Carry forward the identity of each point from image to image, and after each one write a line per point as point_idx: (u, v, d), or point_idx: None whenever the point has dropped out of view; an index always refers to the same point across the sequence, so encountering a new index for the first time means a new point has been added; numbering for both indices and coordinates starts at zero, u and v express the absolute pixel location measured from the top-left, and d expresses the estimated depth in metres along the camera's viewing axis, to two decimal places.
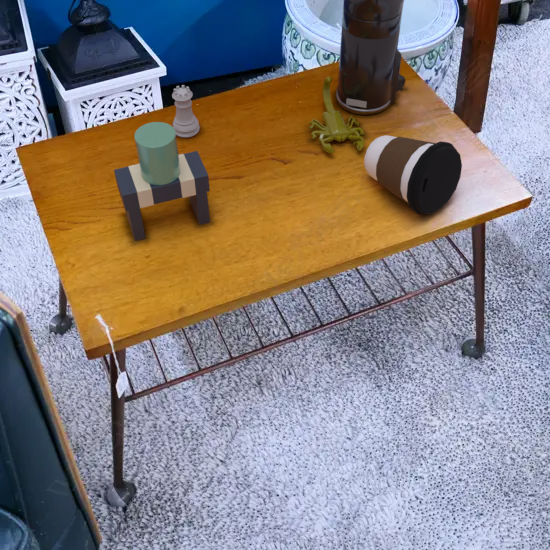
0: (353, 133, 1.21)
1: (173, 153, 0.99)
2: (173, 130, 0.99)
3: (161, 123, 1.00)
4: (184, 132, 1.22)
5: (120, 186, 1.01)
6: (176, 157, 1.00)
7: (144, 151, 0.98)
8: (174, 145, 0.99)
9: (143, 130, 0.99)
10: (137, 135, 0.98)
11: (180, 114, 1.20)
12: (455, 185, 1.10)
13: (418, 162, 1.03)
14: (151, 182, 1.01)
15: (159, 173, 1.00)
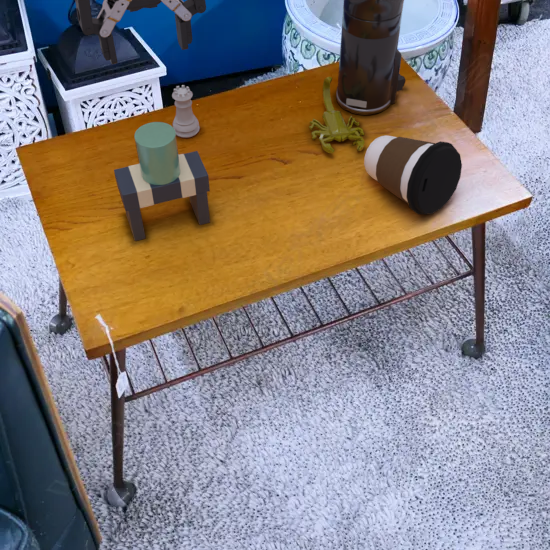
0: (353, 133, 1.21)
1: (173, 153, 0.99)
2: (173, 130, 0.99)
3: (161, 123, 1.00)
4: (184, 132, 1.22)
5: (120, 186, 1.01)
6: (176, 157, 1.00)
7: (144, 151, 0.98)
8: (174, 145, 0.99)
9: (143, 130, 0.99)
10: (137, 135, 0.98)
11: (180, 114, 1.20)
12: (455, 185, 1.10)
13: (418, 162, 1.03)
14: (151, 182, 1.01)
15: (159, 173, 1.00)
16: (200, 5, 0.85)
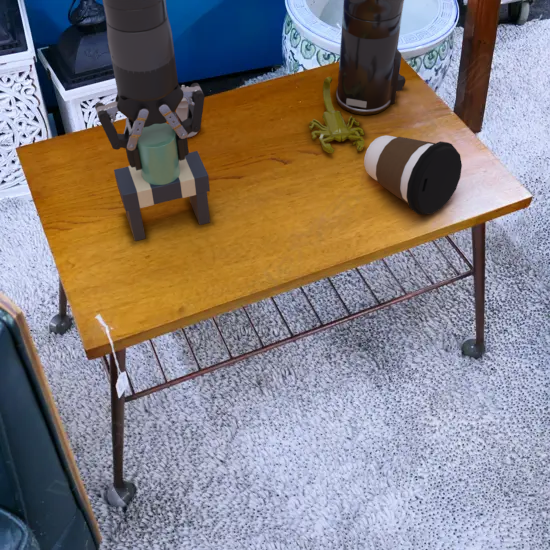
0: (353, 133, 1.21)
1: (173, 153, 0.99)
2: (173, 130, 0.99)
3: None
4: None
5: (120, 186, 1.01)
6: (176, 157, 1.00)
7: (144, 151, 0.98)
8: (174, 145, 0.99)
9: (143, 130, 0.99)
10: None
11: (180, 114, 1.20)
12: (455, 185, 1.10)
13: (418, 162, 1.03)
14: (151, 182, 1.01)
15: (159, 173, 1.00)
16: (196, 125, 0.98)
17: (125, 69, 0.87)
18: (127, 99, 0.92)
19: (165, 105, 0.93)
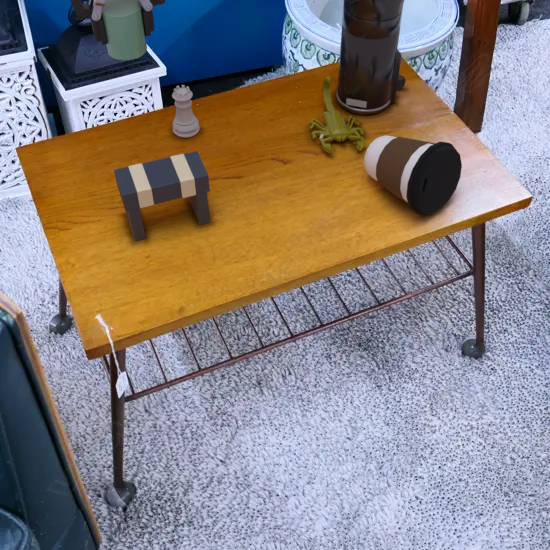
0: (353, 133, 1.21)
1: (138, 25, 1.00)
2: (138, 2, 1.00)
3: None
4: (184, 132, 1.22)
5: (120, 186, 1.01)
6: (142, 31, 1.01)
7: (109, 22, 0.98)
8: (139, 17, 0.99)
9: (109, 2, 1.00)
10: None
11: (180, 114, 1.20)
12: (455, 185, 1.10)
13: (418, 162, 1.03)
14: (117, 57, 1.02)
15: (125, 46, 1.00)
16: None
17: None
18: None
19: None
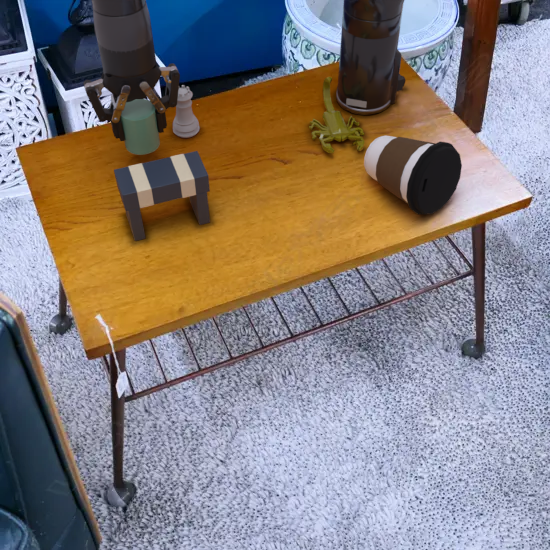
0: (353, 133, 1.21)
1: (153, 126, 1.12)
2: (153, 105, 1.12)
3: (142, 99, 1.13)
4: (184, 132, 1.22)
5: (120, 186, 1.01)
6: (156, 130, 1.13)
7: (127, 124, 1.11)
8: (154, 119, 1.12)
9: (127, 105, 1.12)
10: None
11: (180, 114, 1.20)
12: (455, 185, 1.10)
13: (418, 162, 1.03)
14: (134, 152, 1.14)
15: (141, 143, 1.13)
16: (172, 101, 1.11)
17: (109, 49, 1.00)
18: (111, 76, 1.05)
19: (145, 82, 1.06)
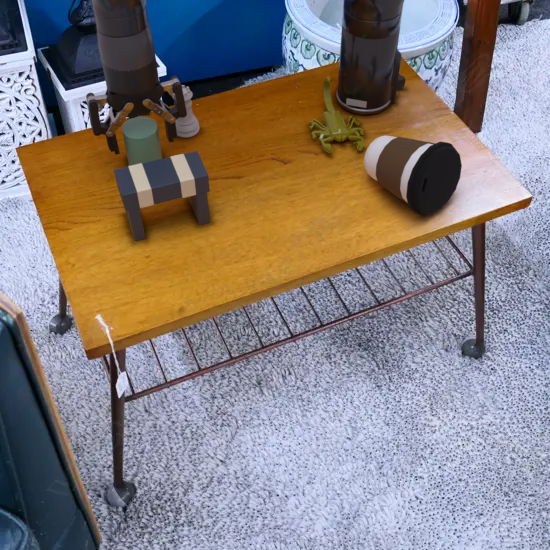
0: (353, 133, 1.21)
1: (155, 143, 1.15)
2: (155, 124, 1.14)
3: (145, 118, 1.15)
4: (184, 132, 1.22)
5: (120, 186, 1.01)
6: (158, 147, 1.16)
7: (130, 142, 1.13)
8: (156, 136, 1.14)
9: (130, 124, 1.14)
10: (124, 128, 1.14)
11: None
12: (455, 185, 1.10)
13: (418, 162, 1.03)
14: None
15: (143, 160, 1.15)
16: (182, 112, 1.13)
17: (113, 68, 1.03)
18: (115, 94, 1.07)
19: (147, 99, 1.09)
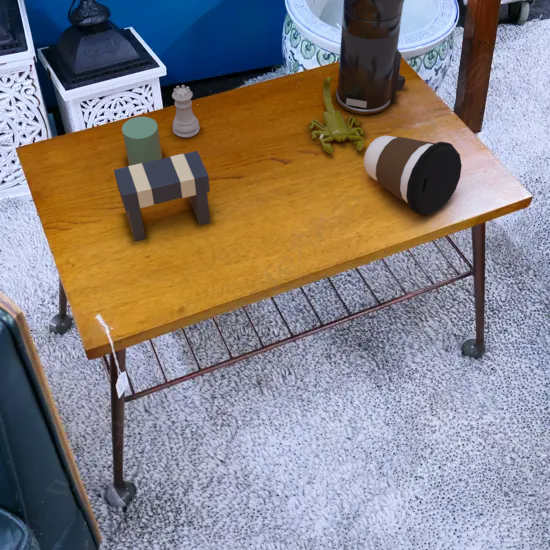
0: (353, 133, 1.21)
1: (155, 143, 1.15)
2: (155, 124, 1.14)
3: (145, 118, 1.15)
4: (184, 132, 1.22)
5: (120, 186, 1.01)
6: (158, 147, 1.16)
7: (130, 142, 1.13)
8: (156, 136, 1.14)
9: (130, 124, 1.14)
10: (124, 128, 1.14)
11: (180, 114, 1.20)
12: (455, 185, 1.10)
13: (418, 162, 1.03)
14: None
15: (143, 160, 1.15)
16: None
17: None
18: None
19: None
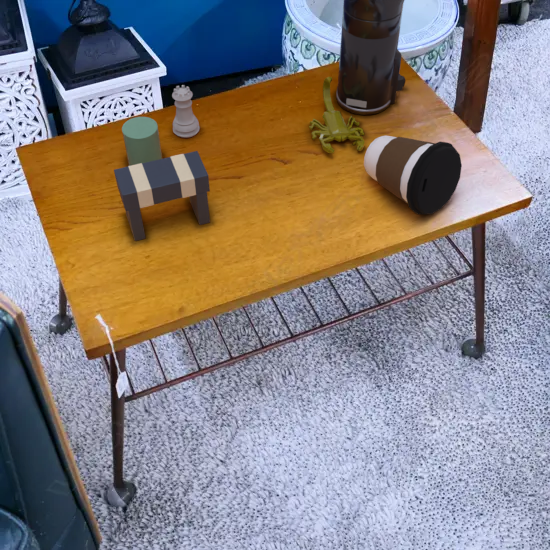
0: (353, 133, 1.21)
1: (155, 143, 1.15)
2: (155, 124, 1.14)
3: (145, 118, 1.15)
4: (184, 132, 1.22)
5: (120, 186, 1.01)
6: (158, 147, 1.16)
7: (130, 142, 1.13)
8: (156, 136, 1.14)
9: (130, 124, 1.14)
10: (124, 128, 1.14)
11: (180, 114, 1.20)
12: (455, 185, 1.10)
13: (418, 162, 1.03)
14: None
15: (143, 160, 1.15)
16: None
17: None
18: None
19: None
